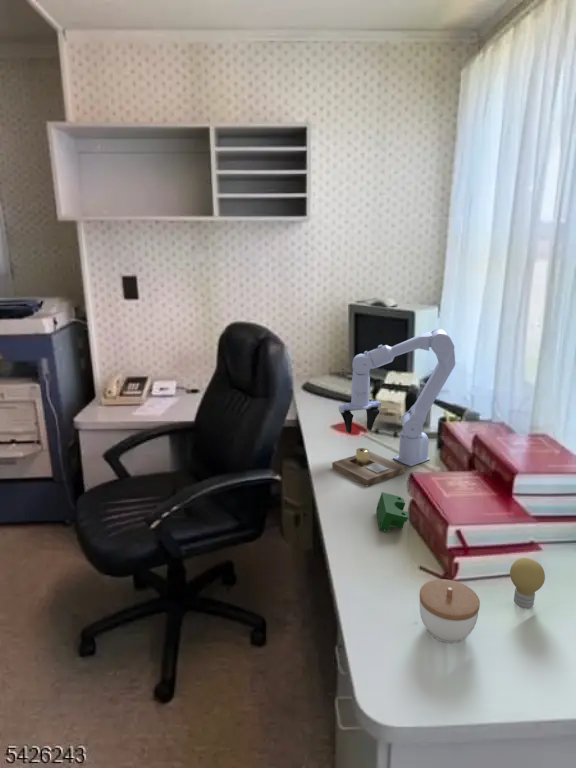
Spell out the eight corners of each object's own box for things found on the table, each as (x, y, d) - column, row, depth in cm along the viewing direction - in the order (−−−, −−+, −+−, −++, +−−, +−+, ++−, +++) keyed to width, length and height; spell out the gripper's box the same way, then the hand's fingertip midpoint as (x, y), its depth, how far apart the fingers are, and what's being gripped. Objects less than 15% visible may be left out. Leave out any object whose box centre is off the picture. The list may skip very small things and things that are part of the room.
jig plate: (368, 456, 185) (369, 450, 184) (404, 472, 172) (404, 466, 172) (332, 468, 176) (332, 461, 175) (367, 486, 163) (367, 478, 163)
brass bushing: (361, 464, 179) (362, 446, 177) (371, 468, 176) (371, 450, 174) (353, 467, 177) (353, 449, 175) (362, 471, 174) (362, 453, 172)
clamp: (397, 545, 141) (409, 524, 135) (375, 539, 141) (386, 517, 135) (397, 508, 150) (409, 487, 144) (376, 502, 150) (386, 481, 144)
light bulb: (512, 590, 116) (517, 548, 113) (544, 603, 112) (550, 559, 109) (501, 606, 111) (507, 562, 108) (535, 619, 107) (541, 574, 104)
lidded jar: (435, 605, 111) (438, 564, 109) (486, 631, 104) (491, 588, 101) (406, 632, 104) (409, 589, 101) (458, 661, 96) (463, 616, 94)
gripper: (346, 396, 173) (344, 437, 176) (386, 392, 178) (384, 431, 181) (336, 390, 179) (335, 430, 183) (375, 386, 184) (373, 424, 188)
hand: (359, 430), depth 182 cm, fingers open, 7 cm apart
